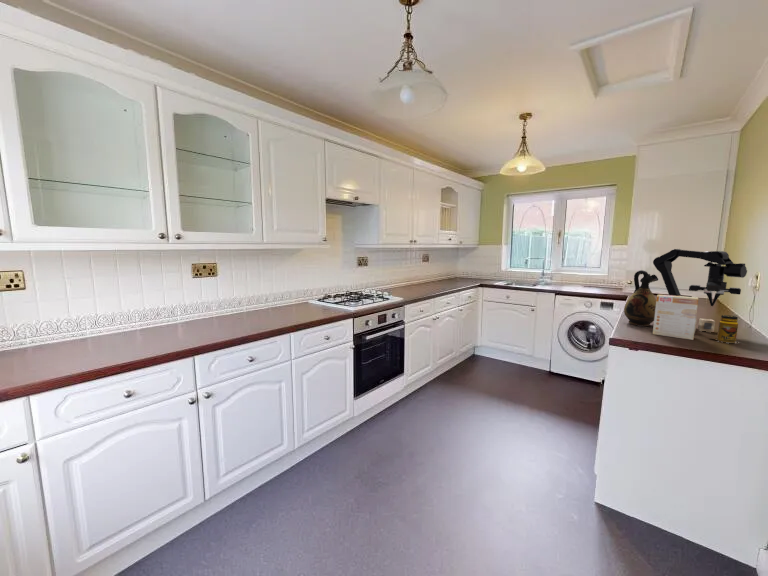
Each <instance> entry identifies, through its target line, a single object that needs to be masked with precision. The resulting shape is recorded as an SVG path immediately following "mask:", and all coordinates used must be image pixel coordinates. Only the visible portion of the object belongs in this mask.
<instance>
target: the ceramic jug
mask: <svg viewBox="0 0 768 576" xmlns="http://www.w3.org/2000/svg"><path fill="white" fill-rule="evenodd" d="M640 275H643V277H642V278H640V280H639V276H640ZM633 280H634V281H633V283H634V288H635V290H634V291H633V293H632V294H631V296H629V297H628V299H627V301H626V302H625V304H624V308H623V311H624V312H623V313H624V316H625V317H626V318H627V319H628V323H629V324H631V325H634V326H638V327H639V326H640V327H649V326H650V324H652V323H654V317H655V308H656V299H657V298H656V297H655V294H654V293H653V291H652V290H651V288H650V283H654V282H657V281H659V278H658V276H657V275H656V274H650V273H648V272H647V271H646V270H642V269H641V270H638V271H636V272H635V273H634V275H633ZM640 283H641V284H640Z"/></svg>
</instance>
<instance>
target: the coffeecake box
mask: <svg viewBox="0 0 768 576" xmlns="http://www.w3.org/2000/svg"><path fill="white" fill-rule="evenodd" d="M655 299H656V308H655V317H654V321H653V326H652V327H653V328H652V335H655V336H657V335H658V336H664V337H671V338H677V339H683V340H692V341H693V340H694V338H695V333H696V331H695V324H696V325H697V323H696V320H697V316H698V308H699V297H697V296H683V295H681V296H673V295H669V294H657V295H656V298H655ZM694 332H695V333H694Z"/></svg>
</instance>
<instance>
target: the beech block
mask: <svg viewBox="0 0 768 576" xmlns="http://www.w3.org/2000/svg"><path fill="white" fill-rule="evenodd" d="M715 326H716V320H714V319H711V318H699V319H698V327H697V330H698V331H699V330H700V331H699V332H702V331H706V332H705V333H711V332H715Z"/></svg>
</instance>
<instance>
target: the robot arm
mask: <svg viewBox="0 0 768 576" xmlns="http://www.w3.org/2000/svg"><path fill="white" fill-rule="evenodd" d="M729 256H730V255H729V253H728V252H727V251H724V250H723V251H721V250H716V251H715V250H714V251H713V250H711V251H699V250H688V249H680V248H673V249H671V250H670V251H668V252H666V253H664V254H661V255H660V256H657V257H655V258H654V259H653V260H652V263H653V266H654V267H655V269H656V270H657V271H658V272H659V273H660V275H661V277H662V280H663V283H664V284H665V285H664V286H665V288H666V291H667V293H668V294H667V295H673V296H682V295H681V293H680V289H679V287H678V285H677V282H676V279H675V277H674V275H673V272H672V268H673V262H674V261H676V260H677V259H678V258H679V257H680V258H681V257H683V258H691V259H700V260H704V261H706V262H707V263H705V264H704V265H703V267H707V268H708V276H707V282H706V285H705V286H701V285H700V284H691V285H689V286H688V291H690V292H698V291H703V294H706V296H707V298H708V301H709V305H710V307H714V306H715V303H716V302H717V300H718V299H719V297H721V296H722V295H723V296H724V294H725V293H729V294H731V295H732V294H733V295H741V292H742V289H741V288H740V287H729V288H727V285H728V284H727V283H728V282H727V281H724V280H725V276H726V277H727V278H729V277H730V278H742V279H743V278H745V277H746V276H747V273H748V270H747V267H746V263H735V262H733V261H732V260H731V258H730V257H729ZM713 292H715V294H714V297H713Z"/></svg>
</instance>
